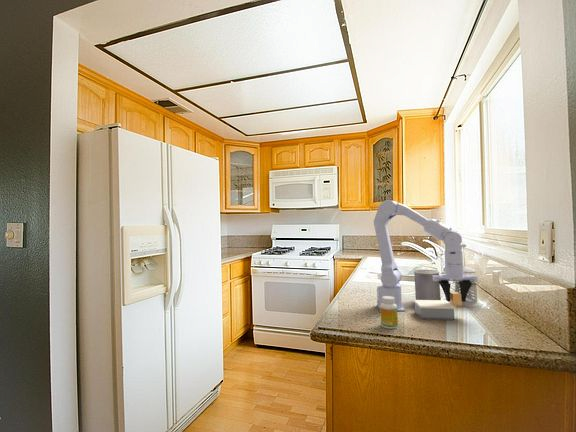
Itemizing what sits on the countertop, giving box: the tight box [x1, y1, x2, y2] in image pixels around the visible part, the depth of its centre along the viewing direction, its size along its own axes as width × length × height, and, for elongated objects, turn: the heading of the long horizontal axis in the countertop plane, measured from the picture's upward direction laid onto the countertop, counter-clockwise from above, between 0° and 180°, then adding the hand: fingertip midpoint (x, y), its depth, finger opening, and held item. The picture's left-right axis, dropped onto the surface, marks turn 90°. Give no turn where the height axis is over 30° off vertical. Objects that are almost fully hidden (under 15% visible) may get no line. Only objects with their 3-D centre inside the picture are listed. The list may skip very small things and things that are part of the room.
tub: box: [414, 302, 456, 321], centre depth 105 cm, size 11×8×4 cm
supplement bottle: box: [379, 296, 399, 330], centre depth 96 cm, size 5×5×10 cm
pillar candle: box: [413, 268, 442, 300], centre depth 121 cm, size 10×10×15 cm
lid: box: [413, 291, 463, 310], centre depth 105 cm, size 15×9×4 cm, turn 81°
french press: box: [448, 243, 481, 307], centre depth 121 cm, size 10×12×25 cm
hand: (455, 301), depth 104 cm, fingers open, 4 cm apart
